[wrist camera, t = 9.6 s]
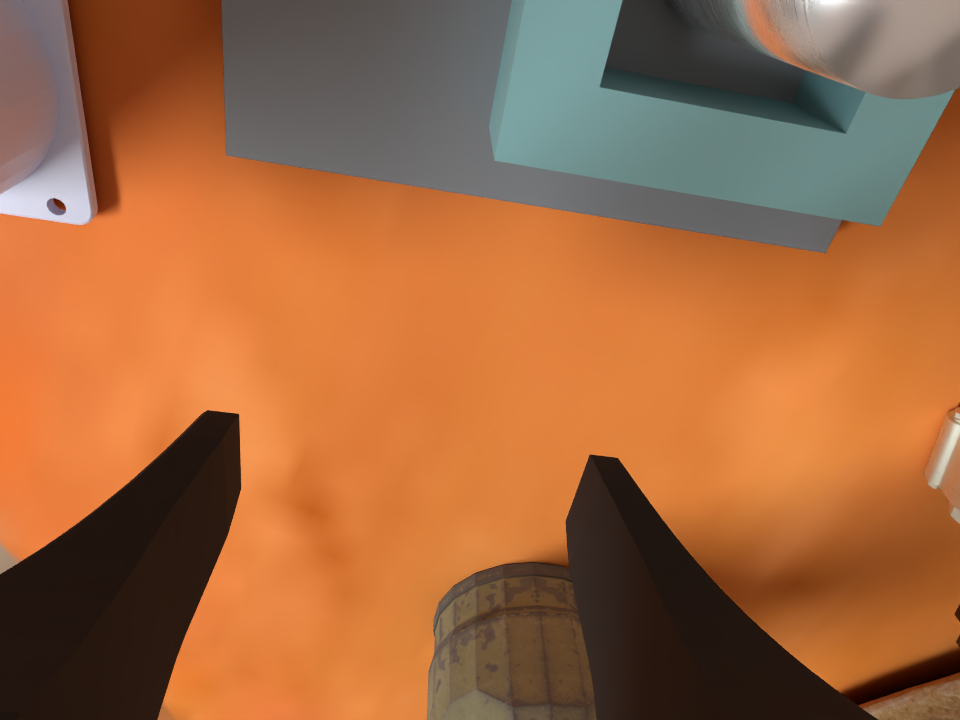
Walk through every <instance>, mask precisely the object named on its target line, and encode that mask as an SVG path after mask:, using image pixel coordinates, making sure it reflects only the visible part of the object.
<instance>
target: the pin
mask: <svg viewBox="0 0 960 720" xmlns="http://www.w3.org/2000/svg"><path fill="white" fill-rule="evenodd" d="M664 1H665V2H666V4H667V6H668V7H669V9H670V10H671V11H672V12H673V13H674V15H675V16H676V17H677V18H679V19H680V20H681V21H682V22H683V23H685V24H686V25H688V26H690V27H691V28H693V29H696V30H698V31H701V32H703V33H706V34H709V35H712V36H714V37H717V38H720V39H723V40H725V41H728V42H731V43H733V44H736V45H739V46H742V47H744V48H747V49H750V50H753V51H755V52H758V53H761V54H763V55H766V56H769V57H772V58H774V59H777V60H780V61H783V62H785V63H788V64H791V65H793V66H796V67H799V68H802V69H804V70H807V71H810V72H813V73H815V74H818V75H821V76H823V77H826V78H829V79H832V80H834V81H837V82H840V83H843V84H845V85H848V86H851V87H853V88H856V89H859V90H862V91H864V92H867V93H870V94H872V95H876V96H880V97H885V98H890V99H918V98H926V97H930V96H935V95H940V94H943V93H946V92H949V91H952V90H955V89H958V88H960V0H664Z"/></svg>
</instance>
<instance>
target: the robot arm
mask: <svg viewBox="0 0 960 720" xmlns="http://www.w3.org/2000/svg"><path fill="white" fill-rule="evenodd" d="M54 198H56V199H59V200H60V201H62V202H63V203H64V205H65V207H66V210H62V209H59V208H58V207H57V206H56V205H55V203H54V201H53V199H54ZM97 212H98V206H97V199H96V192H95V185H94V178H93V171H92V165H91V158H90V151H89V144H88V137H87V130H86V123H85V117H84V110H83V103H82V96H81V89H80V82H79V76H78V69H77V62H76V55H75V48H74V41H73V35H72V28H71V21H70V14H69V7H68V0H0V213H1V214H8V215H15V216H21V217H28V218H35V219H42V220H49V221H56V222H62V223H69V224H76V225H85V224H87V223H89V222H90V221H92V220H93V219H94V218H95V216H96V215H97ZM240 490H241V466H240V429H239V414H235V413H226V412H218V411H209V410H207V411H206V412H204V413H203V414H201V415H200V416H199V417H198V418H197V419H196V420H195V421H194V422H193V423H192V424H191V425H190V426H189V427H188V428H187V429H186V430H185V431H184V432H183V433H182V434H181V435H180V436H179V437H178V438H177V439H176V440H175V441H174V442H173V443H172V444H171V445H170V446H169V447H168V448H167V449H166V450H165V451H164V452H162V453H161V454H160V455H159V456H158V457H157V458H156V459H155V460H154V461H153V462H151V463H150V464H149V465H148V466H147V467H146V468H145V469H144V470H143V471H141V472H140V473H139V474H138V475H137V476H136V477H135V478H134V479H132V480H131V481H130V482H129V483H128V484H127V485H125V486H124V487H123V488H122V489H121V490H119V491H118V492H117V493H116V494H114V495H113V496H112V497H111V498H109V499H108V500H107V501H106V502H104V503H103V504H102V505H101V506H99V507H98V508H97V509H96V510H95V511H93V512H92V513H91V514H89V515H88V516H87V517H85V518H84V519H83V520H81V521H80V522H79V523H77V524H76V525H75V526H73V527H72V528H70V529H69V530H68V531H66V532H65V533H63V534H62V535H61V536H59V537H58V538H56V539H55V540H53V541H52V542H50V543H49V544H48V545H46V546H45V547H43V548H42V549H40V550H39V551H37V552H35V553H34V554H32V555H31V556H29V557H27V558H26V559H24V560H23V561H21V562H20V563H18V564H17V565H15V566H13V567H12V568H10V569H8V570H7V571H5V572H3V573H2V574H0V720H157V719H158V716H159V712H160V709H161V706H162V703H163V699H164V696H165V693H166V690H167V687H168V683H169V680H170V677H171V674H172V671H173V668H174V664H175V661H176V658H177V656H178V653H179V650H180V648H181V645H182V642H183V640H184V637H185V634H186V632H187V630H188V627H189V625H190V623H191V620H192V618H193V616H194V613H195V611H196V609H197V606H198V604H199V602H200V599H201V597H202V595H203V592H204V590H205V588H206V585H207V583H208V581H209V578H210V576H211V574H212V571H213V569H214V566H215V564H216V562H217V559H218V557H219V555H220V552H221V550H222V547H223V545H224V543H225V540H226V538H227V535H228V532H229V529H230V526H231V522H232V519H233V515H234V512H235V508H236V505H237V501H238V498H239V494H240ZM566 534H567V549H568V560H569V568H570V574H571V579H572V584H573V589H574V594H575V599H576V604H577V608H578V613H579V618H580V623H581V627H582V632H583V637H584V642H585V647H586V651H587V656H588V661H589V666H590V672H591V678H592V684H593V691H594V700H595V710H596V719H597V720H878V719H877V718H875V717H874V716H872V715H871V714H869V713H868V712H867V711H865V710H864V709H862V708H861V707H859V706H858V705H856V704H855V703H853V702H852V701H851V700H849V699H848V698H846V697H845V696H843V695H842V694H841V693H839V692H838V691H837V690H835V689H834V688H833V687H831V686H830V685H829V684H828V683H826V682H825V681H824V680H822V679H821V678H820V677H818V676H817V675H816V674H815V673H813V672H812V671H811V670H809V669H808V668H807V667H806V666H804V665H803V664H802V663H801V662H800V661H798V660H797V659H796V658H795V657H793V656H792V655H791V654H790V653H789V652H787V651H786V650H785V649H784V648H783V647H782V646H781V645H779V644H778V643H777V642H776V641H775V640H774V639H773V638H772V637H770V636H769V635H768V634H767V633H766V632H765V631H764V630H762V629H761V628H760V627H759V626H758V625H757V624H756V623H755V622H754V621H753V620H752V619H751V618H749V617H748V616H747V615H746V614H745V613H744V612H743V611H742V610H741V609H740V608H739V607H738V606H737V605H736V604H735V603H734V602H733V601H732V600H731V599H730V598H729V597H728V596H727V595H726V594H725V593H724V592H723V591H722V590H721V589H720V587H719V586H718V585H717V584H716V583H715V582H714V581H713V580H712V579H711V578H710V577H709V576H708V574H707V573H706V572H705V571H704V570H703V569H702V567H701V566H700V565H699V564H698V563H697V562H696V561H695V559H694V558H693V557H692V556H691V555H690V554H689V552H688V551H687V550H686V549H685V548H684V546H683V545H682V544H681V543H680V541H679V540H678V539H677V538H676V536H675V535H674V534H673V533H672V531H671V530H670V529H669V527H668V526H667V525H666V524H665V522H664V521H663V520H662V518H661V517H660V516H659V514H658V513H657V512H656V510H655V509H654V508H653V506H652V505H651V504H650V502H649V501H648V499H647V498H646V497H645V495H644V494H643V493H642V491H641V490H640V488H639V487H638V486H637V484H636V483H635V481H634V480H633V479H632V477H631V476H630V474H629V473H628V472H627V470H626V469H625V467H624V466H623V465H622V463H621V462H620V460H619V459H618V458H614V457H605V456H597V455H590V456H589V458H588V461H587V464H586V467H585V470H584V472H583V475H582V478H581V481H580V483H579V486H578V489H577V492H576V494H575V497H574V500H573V503H572V505H571V508H570V511H569V514H568V516H567V519H566Z"/></svg>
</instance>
